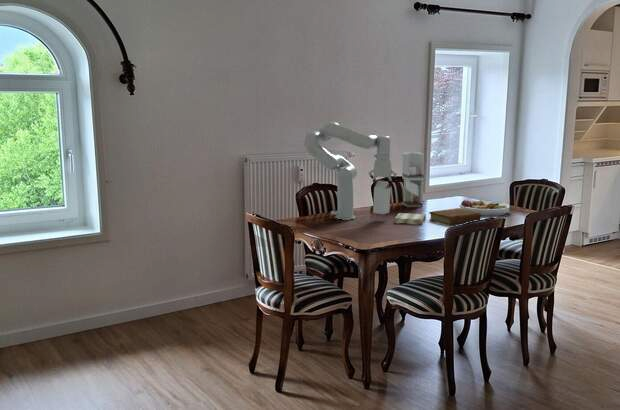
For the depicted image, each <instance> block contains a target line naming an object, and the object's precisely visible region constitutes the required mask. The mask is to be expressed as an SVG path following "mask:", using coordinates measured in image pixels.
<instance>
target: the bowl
mask: <svg viewBox="0 0 620 410" xmlns="http://www.w3.org/2000/svg"><path fill="white" fill-rule="evenodd" d="M459 208H460V209H465V210H469V211H474V212H479V213H480V214H481V217H499V216H503V215H505V214H507V213H508V212H509V211H510V205H509V204H507V203H504V202H498V201H489V200H487V201H485V200H482V199H480V200H471V201H470V200H467V199H466V200H465V199H464V200H463V201H461V202H460V203H459ZM498 215H499V216H498Z"/></svg>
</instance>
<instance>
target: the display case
mask: <svg viewBox="0 0 620 410" xmlns="http://www.w3.org/2000/svg"><path fill="white" fill-rule="evenodd" d="M424 161H425V154H424V153H421V152H403V153H402V173H401V174H402V175H401V176H402V179H403V201H401V205H402V206H405V207H406V208H419V207H421V208H422V207H424V173H425V172H424V169H425V168H424V165H425V162H424Z"/></svg>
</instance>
